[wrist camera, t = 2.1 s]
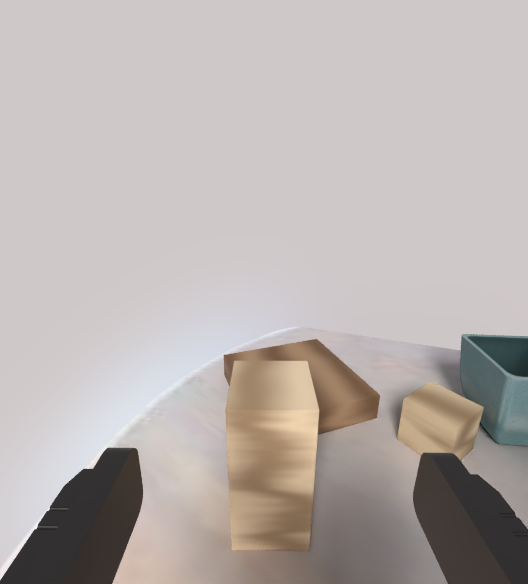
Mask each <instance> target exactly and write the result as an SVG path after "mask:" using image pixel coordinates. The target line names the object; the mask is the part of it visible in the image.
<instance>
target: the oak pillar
mask: <svg viewBox="0 0 528 584" xmlns="http://www.w3.org/2000/svg"><path fill="white" fill-rule="evenodd" d="M318 421H319V407H318V403H317V399H316V395H315V390H314V386H313V382H312V378H311V374H310V370H309V366H308V362H307V361H234V365H233V371H232V376H231V382H230V388H229V394H228V399H227V405H226V429H227V452H228V475H229V498H230V521H231V545H232V550H300V551H309V549H310V535H311V521H312V506H313V492H314V478H315V464H316V450H317V436H318Z"/></svg>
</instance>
